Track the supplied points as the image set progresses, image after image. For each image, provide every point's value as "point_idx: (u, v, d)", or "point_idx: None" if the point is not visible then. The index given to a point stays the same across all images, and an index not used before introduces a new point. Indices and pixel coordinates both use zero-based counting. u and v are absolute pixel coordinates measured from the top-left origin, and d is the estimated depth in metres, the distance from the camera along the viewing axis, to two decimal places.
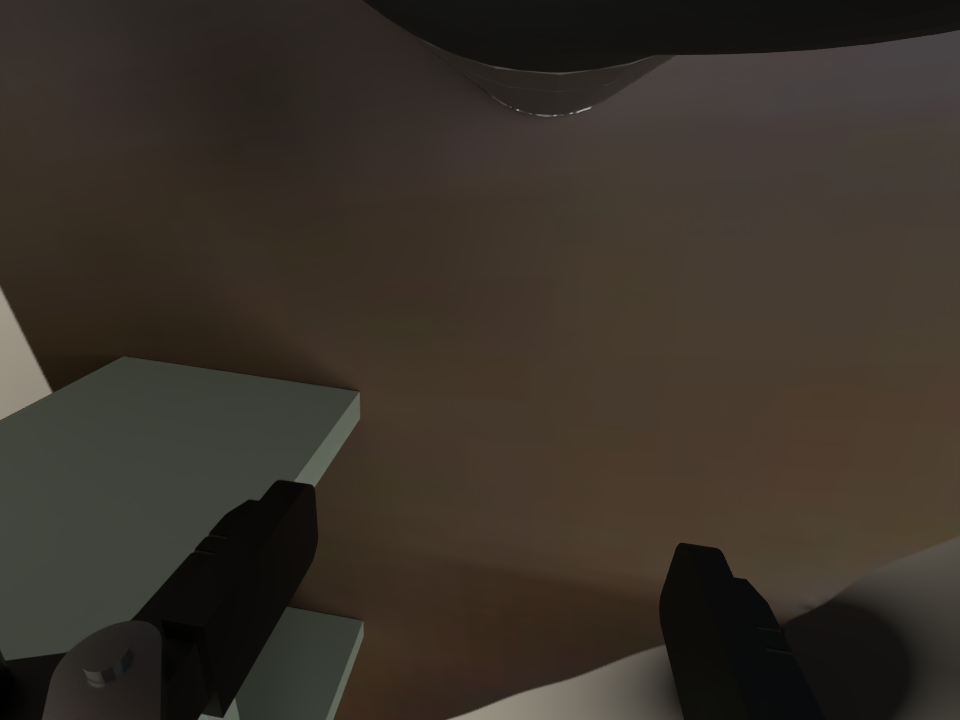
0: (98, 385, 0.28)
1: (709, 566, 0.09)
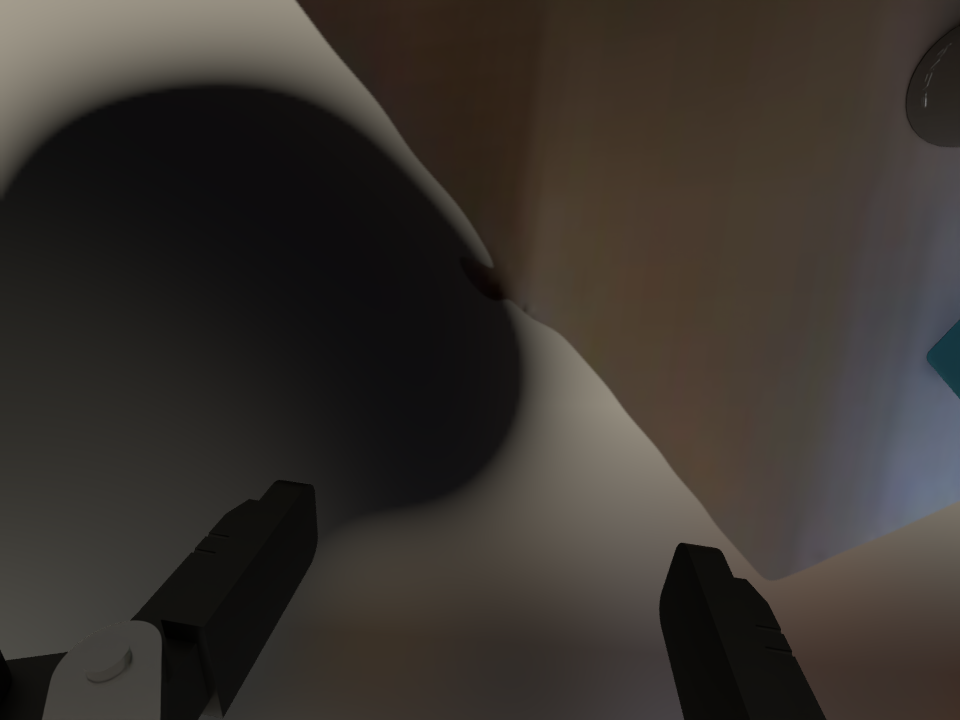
0: None
1: (709, 566, 0.09)
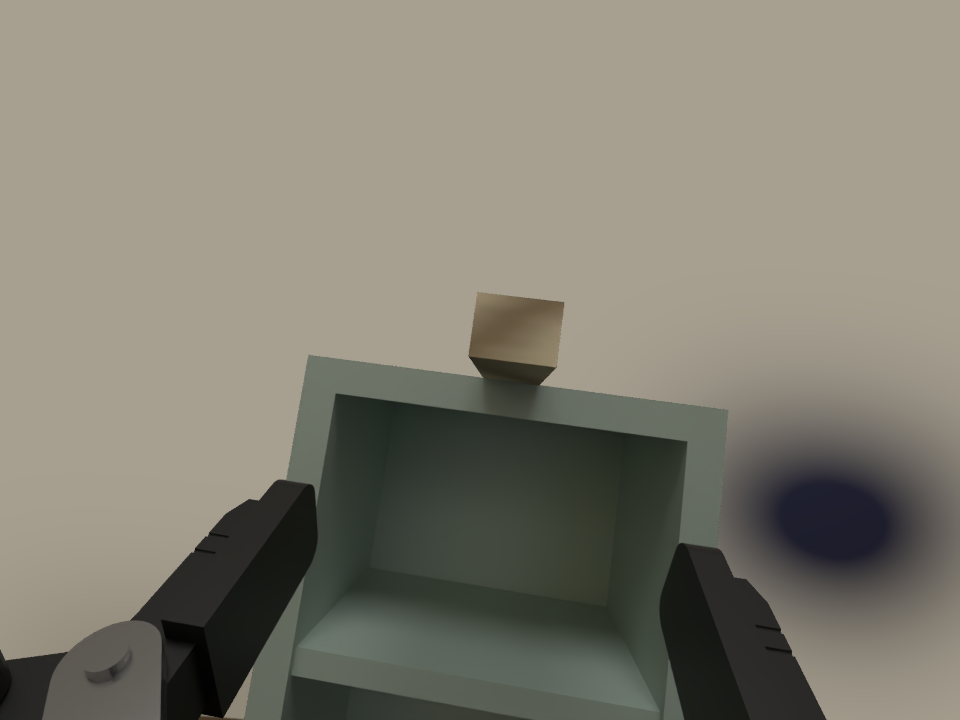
0: None
1: (709, 566, 0.09)
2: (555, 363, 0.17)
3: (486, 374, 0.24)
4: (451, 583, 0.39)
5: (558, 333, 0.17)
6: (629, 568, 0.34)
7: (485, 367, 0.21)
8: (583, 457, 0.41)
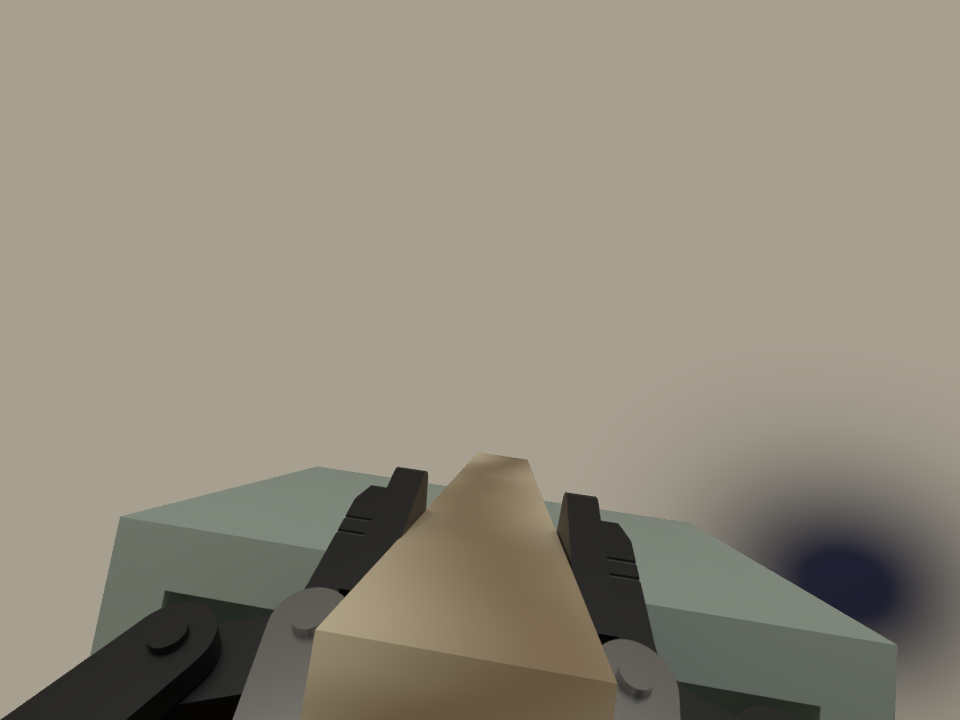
0: None
1: (581, 509, 0.10)
2: None
3: None
4: None
5: None
6: None
7: None
8: None
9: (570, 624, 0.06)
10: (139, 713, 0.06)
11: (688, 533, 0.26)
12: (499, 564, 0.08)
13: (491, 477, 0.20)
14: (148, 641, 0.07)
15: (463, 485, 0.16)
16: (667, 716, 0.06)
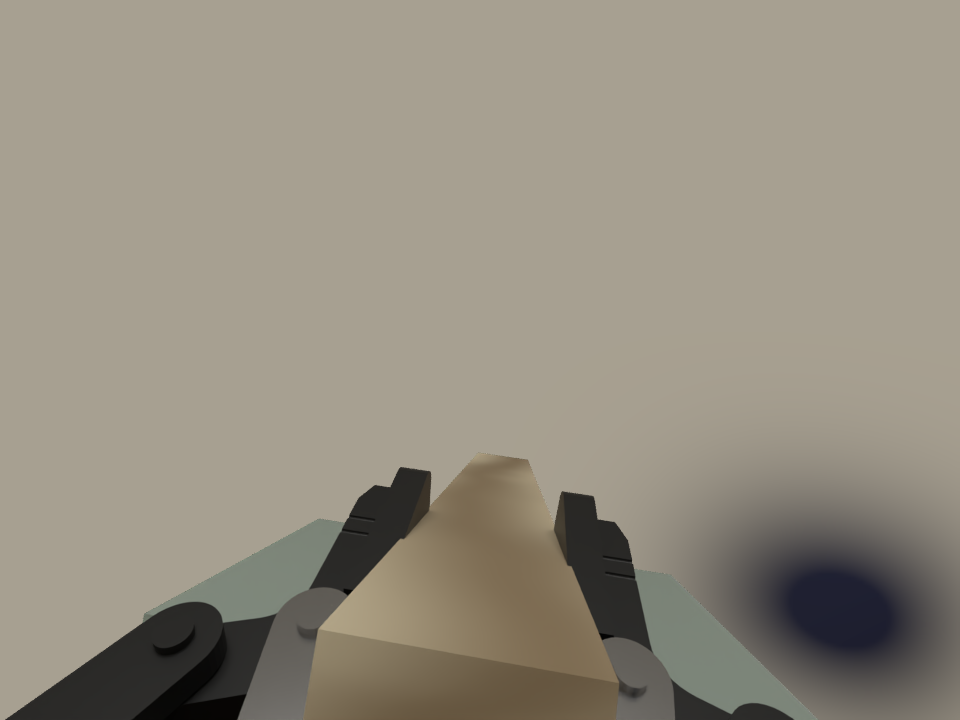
0: None
1: (578, 509, 0.10)
2: None
3: None
4: None
5: None
6: None
7: None
8: None
9: (572, 624, 0.06)
10: (144, 713, 0.06)
11: (667, 591, 0.28)
12: (500, 564, 0.08)
13: (492, 477, 0.20)
14: (154, 641, 0.07)
15: (464, 485, 0.16)
16: (661, 714, 0.06)
